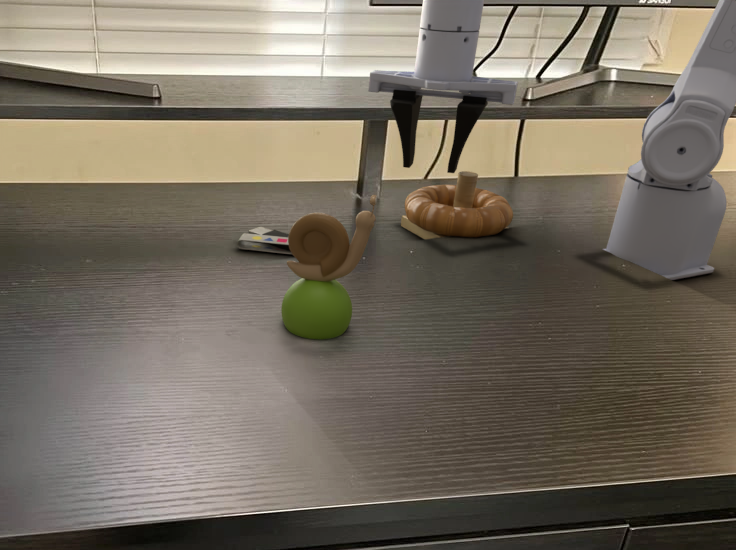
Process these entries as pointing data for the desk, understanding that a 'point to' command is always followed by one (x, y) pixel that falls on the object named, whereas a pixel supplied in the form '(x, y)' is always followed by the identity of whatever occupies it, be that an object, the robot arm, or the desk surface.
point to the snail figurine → (323, 273)
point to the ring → (457, 212)
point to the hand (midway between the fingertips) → (429, 168)
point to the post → (462, 199)
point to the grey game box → (265, 241)
